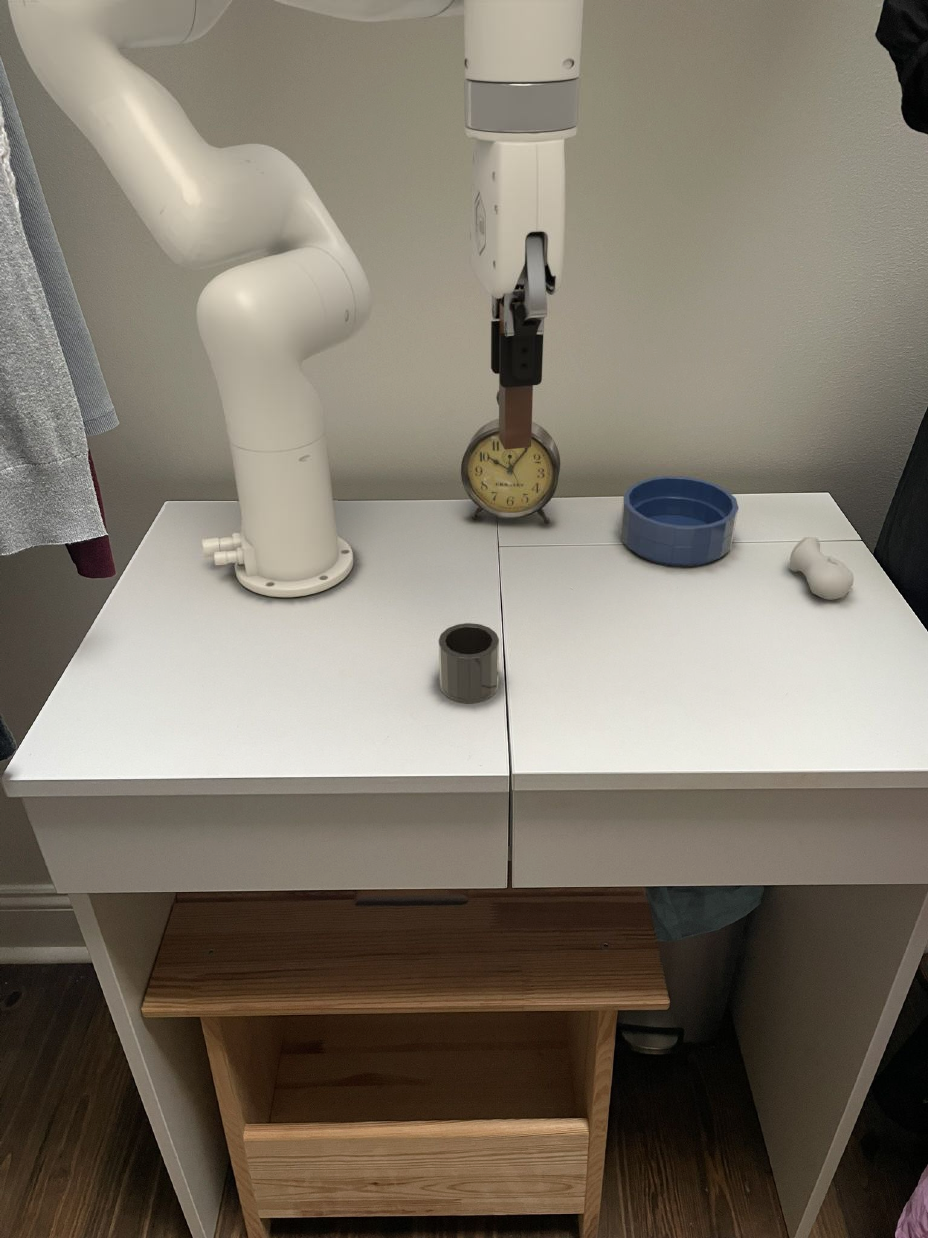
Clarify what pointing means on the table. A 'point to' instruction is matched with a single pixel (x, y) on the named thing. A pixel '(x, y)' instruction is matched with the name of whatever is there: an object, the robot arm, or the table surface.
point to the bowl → (678, 520)
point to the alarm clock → (510, 473)
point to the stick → (514, 408)
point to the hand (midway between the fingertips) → (515, 376)
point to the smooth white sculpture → (821, 570)
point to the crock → (469, 662)
